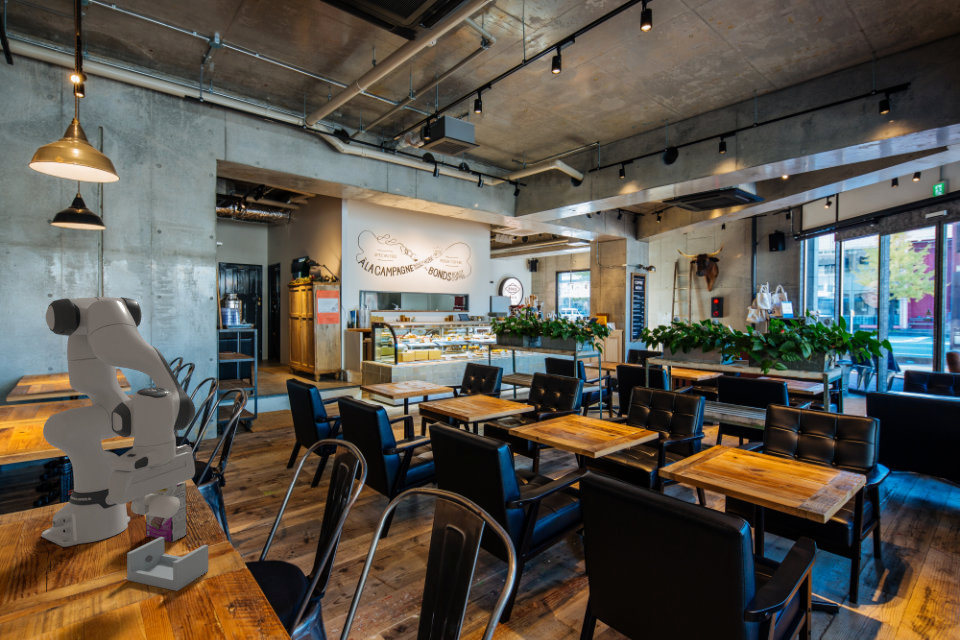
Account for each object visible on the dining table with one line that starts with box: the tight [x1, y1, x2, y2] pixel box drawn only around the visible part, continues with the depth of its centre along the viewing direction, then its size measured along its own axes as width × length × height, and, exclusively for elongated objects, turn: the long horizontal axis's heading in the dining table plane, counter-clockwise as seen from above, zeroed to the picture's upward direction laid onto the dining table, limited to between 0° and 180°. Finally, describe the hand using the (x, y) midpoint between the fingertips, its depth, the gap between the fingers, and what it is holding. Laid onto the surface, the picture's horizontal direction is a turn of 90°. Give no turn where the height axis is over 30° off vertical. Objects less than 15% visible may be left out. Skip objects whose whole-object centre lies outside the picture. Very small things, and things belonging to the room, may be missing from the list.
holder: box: [126, 537, 209, 592], centre depth 119 cm, size 16×9×7 cm, turn 74°
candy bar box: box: [145, 481, 188, 543], centre depth 140 cm, size 11×5×16 cm, turn 71°
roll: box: [130, 494, 180, 518], centre depth 118 cm, size 10×5×5 cm, turn 73°
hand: (155, 508), depth 118 cm, fingers closed on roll, 5 cm apart
